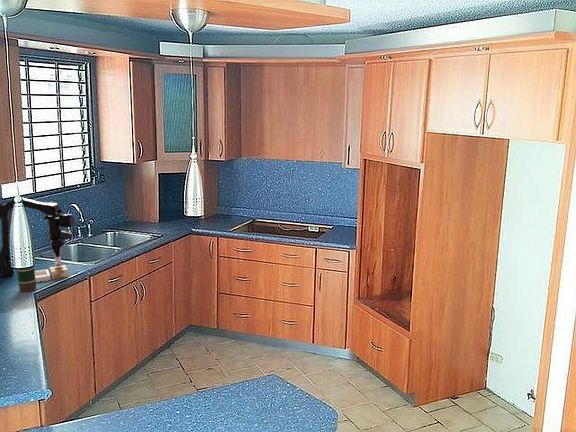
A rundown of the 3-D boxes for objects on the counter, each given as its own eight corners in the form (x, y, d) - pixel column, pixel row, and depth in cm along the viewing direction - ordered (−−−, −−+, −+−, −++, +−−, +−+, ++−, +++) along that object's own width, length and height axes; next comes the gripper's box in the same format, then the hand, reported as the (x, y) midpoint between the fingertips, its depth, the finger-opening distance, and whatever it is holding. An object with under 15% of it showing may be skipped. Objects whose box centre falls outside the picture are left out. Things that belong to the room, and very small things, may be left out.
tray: (27, 283, 297) (27, 279, 296) (26, 276, 309) (25, 272, 309) (50, 280, 302) (50, 275, 301) (48, 273, 314) (47, 269, 314)
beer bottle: (35, 286, 292) (30, 240, 288) (37, 290, 286) (31, 243, 281) (18, 288, 289) (13, 242, 284) (20, 293, 282) (14, 245, 277)
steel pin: (54, 267, 306) (52, 250, 304) (53, 265, 310) (52, 249, 308) (63, 266, 308) (61, 249, 306) (62, 264, 312) (60, 248, 310)
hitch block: (52, 278, 304) (51, 271, 303) (50, 274, 313) (49, 267, 312) (68, 276, 307) (67, 269, 307) (66, 272, 316) (65, 265, 316)
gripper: (72, 228, 300) (75, 257, 303) (68, 222, 317) (71, 250, 320) (49, 231, 296) (52, 260, 298) (46, 225, 312) (49, 252, 315)
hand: (57, 255), depth 308 cm, fingers closed on steel pin, 4 cm apart
